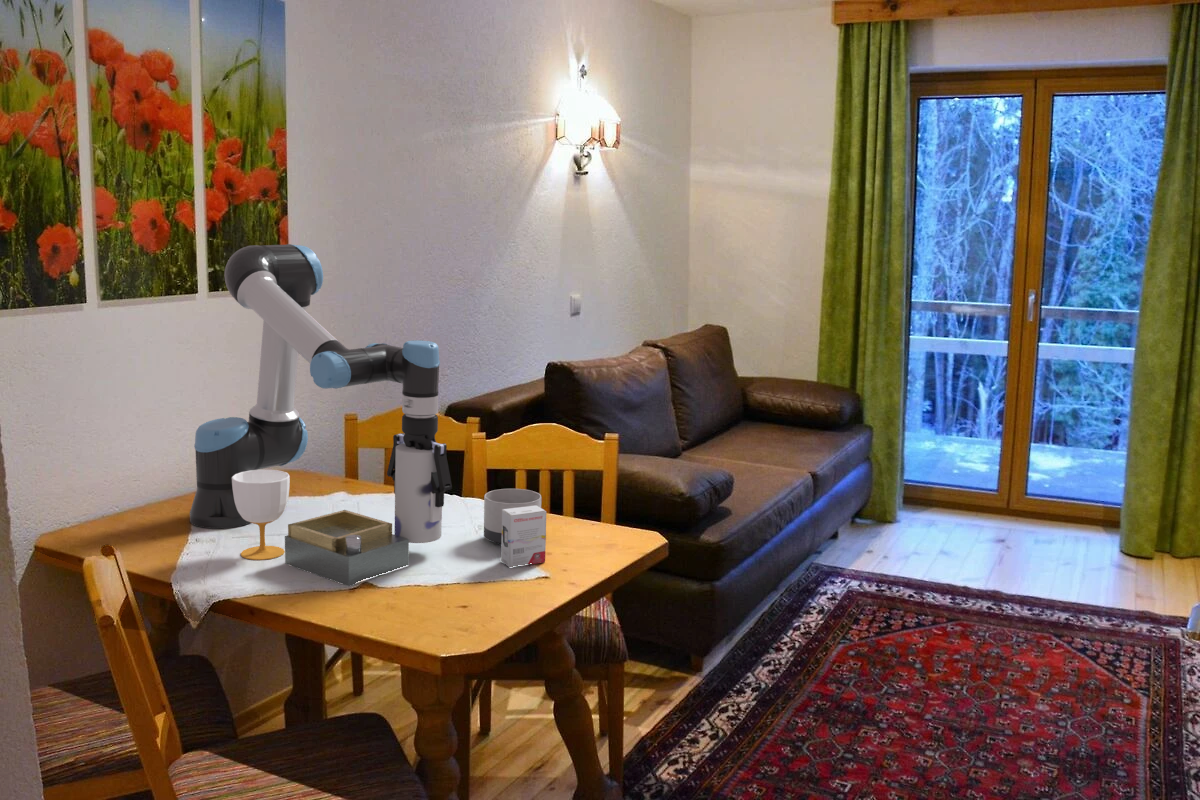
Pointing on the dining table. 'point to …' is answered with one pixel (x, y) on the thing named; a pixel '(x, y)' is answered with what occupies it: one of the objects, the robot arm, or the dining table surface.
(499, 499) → the planter
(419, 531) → the container
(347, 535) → the grey boxy piece
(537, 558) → the ink box
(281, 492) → the cup
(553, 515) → the dining table surface
